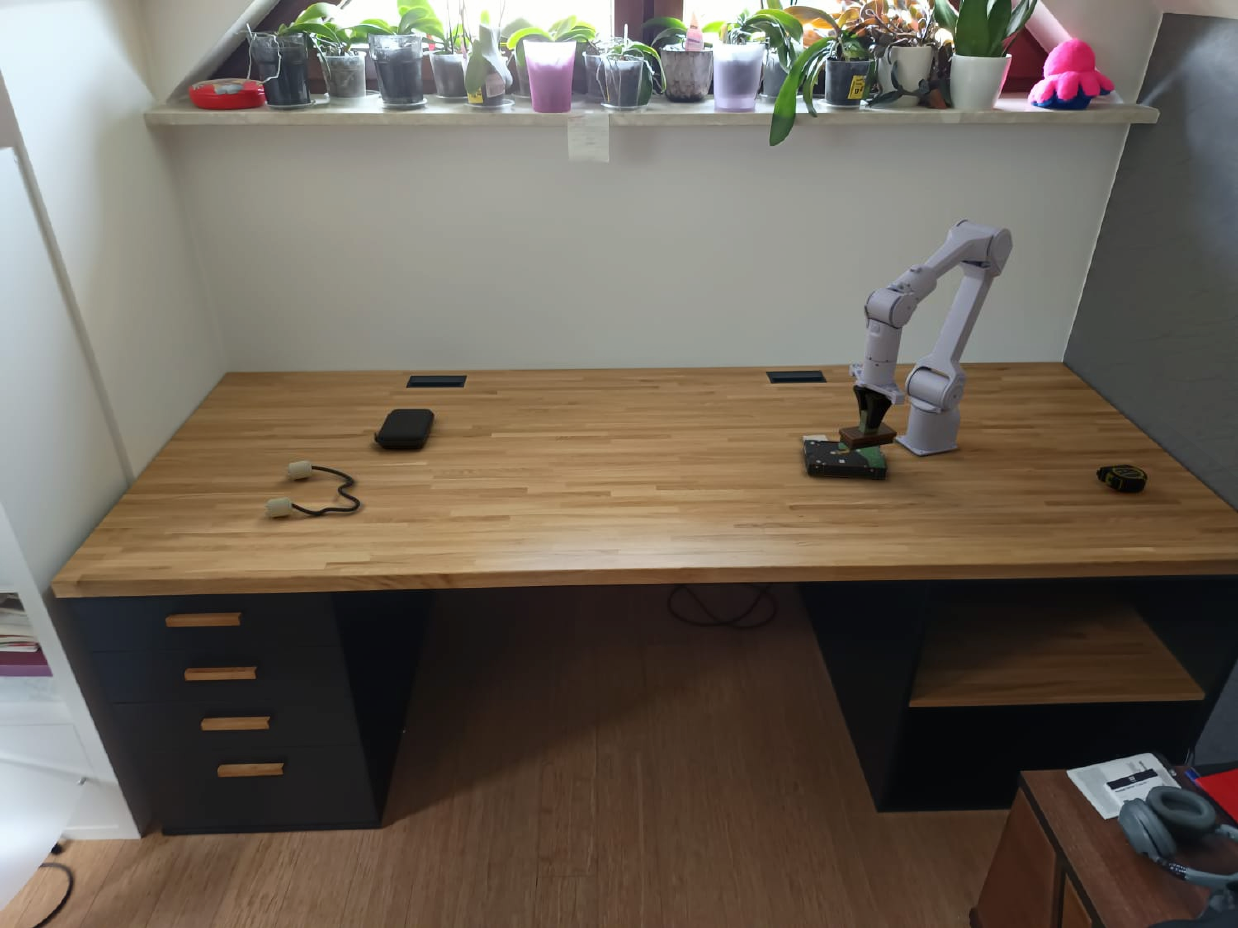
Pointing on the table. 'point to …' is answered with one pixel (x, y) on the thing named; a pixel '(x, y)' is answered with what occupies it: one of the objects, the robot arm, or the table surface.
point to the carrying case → (405, 428)
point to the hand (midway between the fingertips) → (869, 425)
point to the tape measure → (1123, 478)
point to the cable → (301, 471)
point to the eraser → (815, 437)
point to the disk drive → (843, 460)
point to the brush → (866, 434)
